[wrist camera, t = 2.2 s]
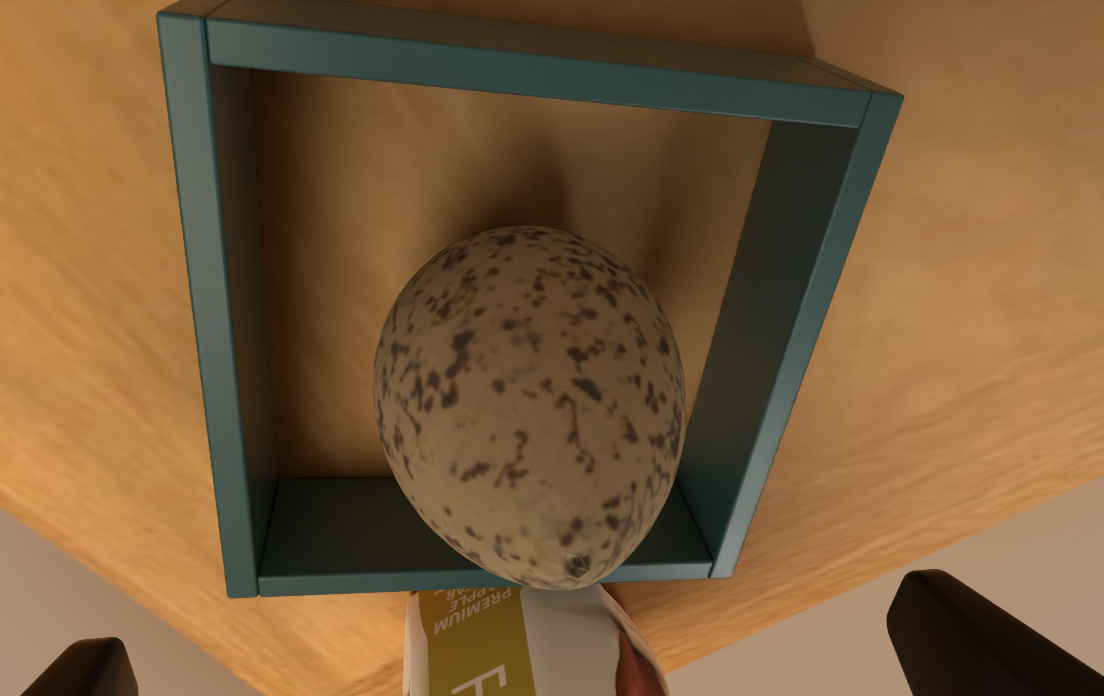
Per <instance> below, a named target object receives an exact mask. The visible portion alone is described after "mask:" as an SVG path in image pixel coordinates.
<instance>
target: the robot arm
mask: <svg viewBox="0 0 1104 696" xmlns="http://www.w3.org/2000/svg"><path fill="white" fill-rule="evenodd" d="M887 629H888V633H889V636H890V639H891V641H892V644H893V646H894V649H895V651H896V654H897V656H898V659H899V662H900V664H901V667H902V669H903V672H904V674H905V677H906V679H907V682H908V684H909V686H910V689H911V692H912V694H913V696H1104V676H1102V675H1101V674H1100V673H1098V672H1096V671H1095V670H1094V669H1092V668H1091V667H1089V666H1087V665H1086V664H1085V663H1083V662H1081V661H1080V660H1078V659H1077V658H1075V657H1074V656H1072V655H1071V654H1069V653H1068V652H1066V651H1065V650H1063V649H1062V648H1060V647H1059V646H1057V645H1056V644H1054V643H1053V642H1051V641H1050V640H1048V639H1047V638H1045V637H1044V636H1042V635H1040V634H1039V633H1038V632H1036V631H1035V630H1033V629H1031V628H1030V627H1029V626H1027V625H1026V624H1024V623H1023V622H1021V621H1020V620H1018V619H1017V618H1015V617H1014V616H1012V615H1011V614H1009V613H1008V612H1006V611H1005V610H1003V609H1001V608H1000V607H998V606H997V605H995V604H994V603H992V602H991V601H989V600H988V599H986V598H985V597H983V596H982V595H980V594H979V593H977V592H976V591H974V590H973V589H971V588H970V587H968V586H967V585H965V584H964V583H962V582H961V581H959V580H958V579H956V578H955V577H953V576H952V575H950V574H948V573H947V572H945V571H942V570H939V569H928V570H916V571H911V572H909V573H907V574H906V575H905V577H904V578H903V580H902V582H901V584H900V587H899V589H898V591H897V593H896V596H895V598H894V600H893V602H892V604H891V606H890V608H889V611H888V613H887ZM20 696H138V685H137V681H136V679H135V676H134V673H133V670H132V667H131V664H130V661H129V658H128V655H127V652H126V649H125V646H124V644H123V642H122V641H121V640H120V639H118V638H117V637H108V638H96V639H84V640H79V641H77V642H75V643H73V644H72V645H70V646H69V647H68V648H67V649H66V650H65V651H64V652H63V653H62V654H61V655H60V656H59V657H58V658H57V659H56V660H55V661H54V662H53V663H52V664H51V665H50V666H49V667H48V668H47V669H46V670H45V671H44V672H43V673H42V674H41V675H40V676H39V677H38V678H37V679H36V680H35V681H34V682H33V683H32V684H31V685H30V686H29V687H28V688H27V689H26V690H25V691H24V692H23V694H22V695H20Z"/></svg>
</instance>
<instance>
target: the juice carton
mask: <svg viewBox="0 0 1104 696" xmlns="http://www.w3.org/2000/svg"><path fill="white" fill-rule="evenodd" d="M403 696H671V695H670V692H669V689H668V686H667V683H666V680H665V677H664V674H663V671H662V669H661V667H660V665H659V663H658V661H657V659H656V657H655V655H654V653H653V652H652V650H651V649H650V647H649V646H648V644H647V643H646V641H645V640H644V638H643V637H642V635H641V634H640V632H639V631H638V629H637V628H636V626H635V625H634V623H633V622H632V621H631V619H630V618H629V617H628V615H627V614H626V613H625V611H624V610H623V609H622V608H621V606H620V605H619V604H618V603H617V602H616V601H615V600H614V599H613V598H612V597H611V596H610V595H609V594H608V593H607V592H606V591H605V590H604V588H603V587H602V585H601V584H600V583H596V584H590V585H588V586H586V587H582V588H577V589H571V590H545V589H538V588H534V587H530V586H523V587H498V588H474V589H449V590H425V591H419V592H417V593H416V594H414V595H413V596H411V597H410V598H409V599H408V605H407V611H406V625H405V644H404V667H403Z"/></svg>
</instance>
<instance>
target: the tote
mask: <svg viewBox="0 0 1104 696" xmlns="http://www.w3.org/2000/svg"><path fill="white" fill-rule="evenodd" d="M156 22H157V30H158V38H159V46H160V54H161V62H162V70H163V78H164V86H165V94H166V103H167V111H168V119H169V127H170V135H171V143H172V151H173V159H174V167H175V175H176V184H177V192H178V200H179V208H180V216H181V224H182V232H183V240H184V248H185V256H186V265H187V273H188V281H189V289H190V297H191V305H192V313H193V321H194V329H195V337H196V345H197V354H198V362H199V370H200V378H201V386H202V394H203V402H204V410H205V418H206V426H207V435H208V443H209V451H210V459H211V467H212V475H213V483H214V491H215V499H216V507H217V515H218V524H219V532H220V540H221V548H222V556H223V564H224V572H225V580H226V588H227V595H228V598H251V597H257V596H258V594H259V595H260V597H278V596H302V595H327V594H351V593H376V592H400V591H425V590H449V589H474V588H498V587H523V586H526V585H522V584H518V583H516V582H513V581H510V580H508V579H505V578H502V577H500V576H497V575H495V574H493V573H491V572H489V571H487V570H485V569H484V568H482V567H480V566H479V565H477V564H475V563H474V562H472V561H471V560H469V559H467V558H466V557H464V556H463V555H461V554H460V553H459V552H457V551H456V550H455V549H454V548H452V547H451V546H450V545H449V544H448V543H447V542H446V541H444V540H443V539H442V538H441V537H440V536H439V535H438V534H437V533H435V532H434V531H433V530H432V528H431V527H430V526H429V525H428V524H427V523H426V522H425V521H424V520H423V519H422V518H421V516H420V515H419V514H418V513H417V511H416V510H415V509H414V508H413V506H412V505H411V503H410V502H409V500H408V499H407V497H406V496H405V494H404V492H403V491H402V489H401V487H400V486H399V484H398V482H397V480H396V478H310V479H279V480H278V482H277V468H276V454H275V439H274V424H273V409H272V394H271V379H270V365H269V350H268V335H267V320H266V305H265V290H264V276H263V261H262V246H261V231H260V216H259V202H258V187H257V172H256V157H255V142H254V127H253V113H252V98H251V83H250V68H252V69H262V70H272V71H282V72H293V73H303V74H313V75H323V76H333V77H343V78H353V79H363V80H373V81H383V82H393V83H403V84H413V85H423V86H433V87H443V88H453V89H463V90H473V91H484V92H494V93H504V94H514V95H524V96H534V97H544V98H554V99H564V100H574V101H584V102H594V103H604V104H614V105H624V106H634V107H644V108H654V109H664V110H675V111H685V112H695V113H705V114H715V115H725V116H735V117H745V118H755V119H765V120H774V121H773V125H772V128H771V132H770V136H769V139H768V143H767V146H766V150H765V153H764V157H763V161H762V164H761V168H760V171H759V175H758V179H757V182H756V186H755V189H754V193H753V196H752V200H751V204H750V207H749V211H748V214H747V218H746V222H745V225H744V229H743V232H742V236H741V240H740V243H739V247H738V250H737V254H736V257H735V261H734V265H733V268H732V272H731V275H730V279H729V283H728V286H727V290H726V293H725V297H724V300H723V304H722V308H721V311H720V315H719V318H718V322H717V326H716V329H715V333H714V336H713V340H712V344H711V347H710V351H709V354H708V358H707V361H706V365H705V369H704V372H703V376H702V379H701V383H700V387H699V390H698V394H697V397H696V401H695V404H694V408H693V412H692V415H691V419H690V422H689V426H688V430H687V433H686V437H685V440H684V444H683V449H682V454H681V459H680V462H679V466H678V469H677V472H676V476H675V479H674V482H673V484H672V487H671V490H670V492H669V495H668V497H667V499H666V501H665V504H664V506H663V508H662V509H661V511H660V513H659V515H658V517H657V519H656V521H655V522H654V524H653V526H652V528H651V529H650V531H649V532H648V533H647V535H646V536H645V537H644V539H643V540H642V541H641V543H640V544H639V545H638V546H637V548H636V549H635V550H634V551H633V552H632V553H631V554H630V555H629V557H628V558H627V559H626V560H625V561H624V562H622V563H621V564H620V565H619V566H618V567H617V568H616V569H615V570H613V571H612V572H611V573H610V574H609V575H607V576H605V577H604V578H602V579H600V580H598V581H596V582H594V583H592V584H596V583H620V582H645V581H669V580H694V579H707V578H710V579H718V578H731V577H732V575H733V572H734V569H735V566H736V564H737V561H738V558H739V555H740V552H741V550H742V547H743V544H744V541H745V539H746V536H747V533H748V530H749V527H750V525H751V522H752V519H753V516H754V514H755V511H756V508H757V505H758V502H759V500H760V497H761V494H762V491H763V489H764V486H765V483H766V480H767V477H768V475H769V472H770V469H771V466H772V464H773V461H774V458H775V455H776V452H777V450H778V447H779V444H780V441H781V439H782V436H783V433H784V430H785V427H786V425H787V422H788V419H789V416H790V414H791V411H792V408H793V405H794V403H795V400H796V397H797V394H798V391H799V389H800V386H801V383H802V380H803V378H804V375H805V372H806V369H807V366H808V364H809V361H810V358H811V355H812V353H813V350H814V347H815V344H816V341H817V339H818V336H819V333H820V330H821V328H822V325H823V322H824V319H825V316H826V314H827V311H828V308H829V305H830V303H831V300H832V297H833V294H834V291H835V289H836V286H837V283H838V280H839V278H840V275H841V272H842V269H843V267H844V264H845V261H846V258H847V255H848V253H849V250H850V247H851V244H852V242H853V239H854V236H855V233H856V230H857V228H858V225H859V222H860V219H861V217H862V214H863V211H864V208H865V205H866V203H867V200H868V197H869V194H870V192H871V189H872V186H873V183H874V180H875V178H876V175H877V172H878V169H879V167H880V164H881V161H882V158H883V155H884V153H885V150H886V147H887V144H888V142H889V139H890V136H891V133H892V130H893V128H894V125H895V122H896V119H897V117H898V114H899V111H900V108H901V106H902V103H903V100H904V96H903V95H902V94H900V93H898V92H896V91H893V90H891V89H889V88H886V87H884V86H881V85H879V84H877V83H874V82H872V81H870V80H867V79H865V78H863V77H860V76H858V75H855V74H853V73H851V72H848V71H846V70H844V69H841V68H839V67H837V66H834V65H832V64H829V63H827V62H825V61H822V60H820V59H818V58H810V57H801V56H790V55H785V54H777V53H769V52H761V51H752V50H744V49H736V48H727V47H719V46H711V45H702V44H694V43H686V42H677V41H669V40H661V39H652V38H644V37H636V36H627V35H619V34H611V33H602V32H594V31H586V30H577V29H569V28H561V27H552V26H544V25H536V24H528V23H519V22H511V21H503V20H494V19H486V18H478V17H469V16H461V15H453V14H444V13H436V12H428V11H419V10H411V9H403V8H394V7H386V6H378V5H369V4H361V3H353V2H344V1H336V0H179V1H177V2H175V3H173V4H171V5H170V6H168V7H166V8H164V9H162V10H160V11H158V12H157V14H156Z"/></svg>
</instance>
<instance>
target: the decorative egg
mask: <svg viewBox="0 0 1104 696" xmlns="http://www.w3.org/2000/svg"><path fill="white" fill-rule="evenodd" d="M373 396H374V409H375V416H376V422H377V426H378V430H379V435H380V439H381V443H382V446H383V448H384V451H385V454H386V457H387V460H388V462H389V464H390V467H391V469H392V471H393V474H394V476H395V478H396V480H397V482H398V484H399V486H400V487H401V489H402V491H403V492H404V494H405V496H406V497H407V499H408V500H409V502H410V503H411V505H412V506H413V508H414V509H415V510H416V511H417V513H418V514H419V515H420V516H421V518H422V519H423V520H424V521H425V522H426V523H427V524H428V525H429V526H430V527H431V528H432V530H433V531H434V532H435V533H437V534H438V535H439V536H440V537H441V538H442V539H443V540H444V541H446V542H447V543H448V544H449V545H450V546H451V547H452V548H454V549H455V550H456V551H457V552H459V553H460V554H461V555H463V556H464V557H466V558H467V559H469V560H471V561H472V562H474V563H475V564H477V565H479V566H480V567H482V568H484V569H485V570H487V571H489V572H491V573H493V574H495V575H497V576H500V577H502V578H505V579H508V580H510V581H513V582H516V583H518V584H522V585H526V586H530V587H534V588H538V589H545V590H571V589H577V588H582V587H586V586H588V585H590V584H592V583H594V582H596V581H598V580H600V579H602V578H604V577H605V576H607V575H609V574H610V573H611V572H612V571H613V570H615V569H616V568H617V567H618V566H619V565H620V564H621V563H622V562H624V561H625V560H626V559H627V558H628V557H629V555H630V554H631V553H632V552H633V551H634V550H635V549H636V548H637V546H638V545H639V544H640V543H641V541H642V540H643V539H644V537H645V536H646V535H647V533H648V532H649V531H650V529H651V528H652V526H653V524H654V522H655V521H656V519H657V517H658V515H659V513H660V511H661V509H662V508H663V506H664V504H665V501H666V499H667V497H668V495H669V492H670V490H671V487H672V484H673V482H674V479H675V476H676V472H677V469H678V466H679V462H680V459H681V454H682V449H683V443H684V438H685V426H686V390H685V380H684V371H683V367H682V363H681V359H680V355H679V351H678V347H677V343H676V341H675V338H674V335H673V332H672V329H671V327H670V325H669V323H668V321H667V318H666V316H665V314H664V312H663V311H662V309H661V307H660V306H659V304H658V303H657V301H656V300H655V298H654V297H653V295H652V294H651V292H650V291H649V289H648V288H647V287H646V286H645V285H644V283H643V282H642V281H641V280H640V279H639V278H638V277H637V275H636V274H635V273H634V272H632V271H631V270H630V269H629V268H628V267H627V266H626V265H625V264H624V263H623V262H621V261H620V260H619V259H618V258H616V257H615V256H614V255H613V254H611V253H610V252H608V251H606V250H605V249H603V248H602V247H600V246H599V245H597V244H595V243H593V242H591V241H589V240H587V239H585V238H582V237H580V236H577V235H575V234H572V233H568V232H565V231H562V230H558V229H553V228H547V227H542V226H527V225H521V226H508V227H500V228H495V229H491V230H486V231H483V232H480V233H477V234H474V235H471V236H469V237H466V238H464V239H462V240H460V241H458V242H456V243H454V244H452V245H451V246H449V247H447V248H445V249H444V250H443V251H441V252H440V253H438V254H437V255H436V256H435V257H433V258H432V259H431V260H430V261H428V262H427V263H426V264H425V265H424V266H423V267H422V268H421V269H420V270H419V271H418V272H417V273H416V274H415V275H414V276H413V277H412V279H411V280H410V281H409V282H408V283H407V285H406V286H405V287H404V289H403V290H402V291H401V293H400V294H399V296H398V297H397V299H396V301H395V303H394V305H393V307H392V309H391V311H390V313H389V314H388V317H387V319H386V321H385V324H384V326H383V329H382V332H381V336H380V339H379V343H378V347H377V351H376V356H375V362H374V376H373Z"/></svg>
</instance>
